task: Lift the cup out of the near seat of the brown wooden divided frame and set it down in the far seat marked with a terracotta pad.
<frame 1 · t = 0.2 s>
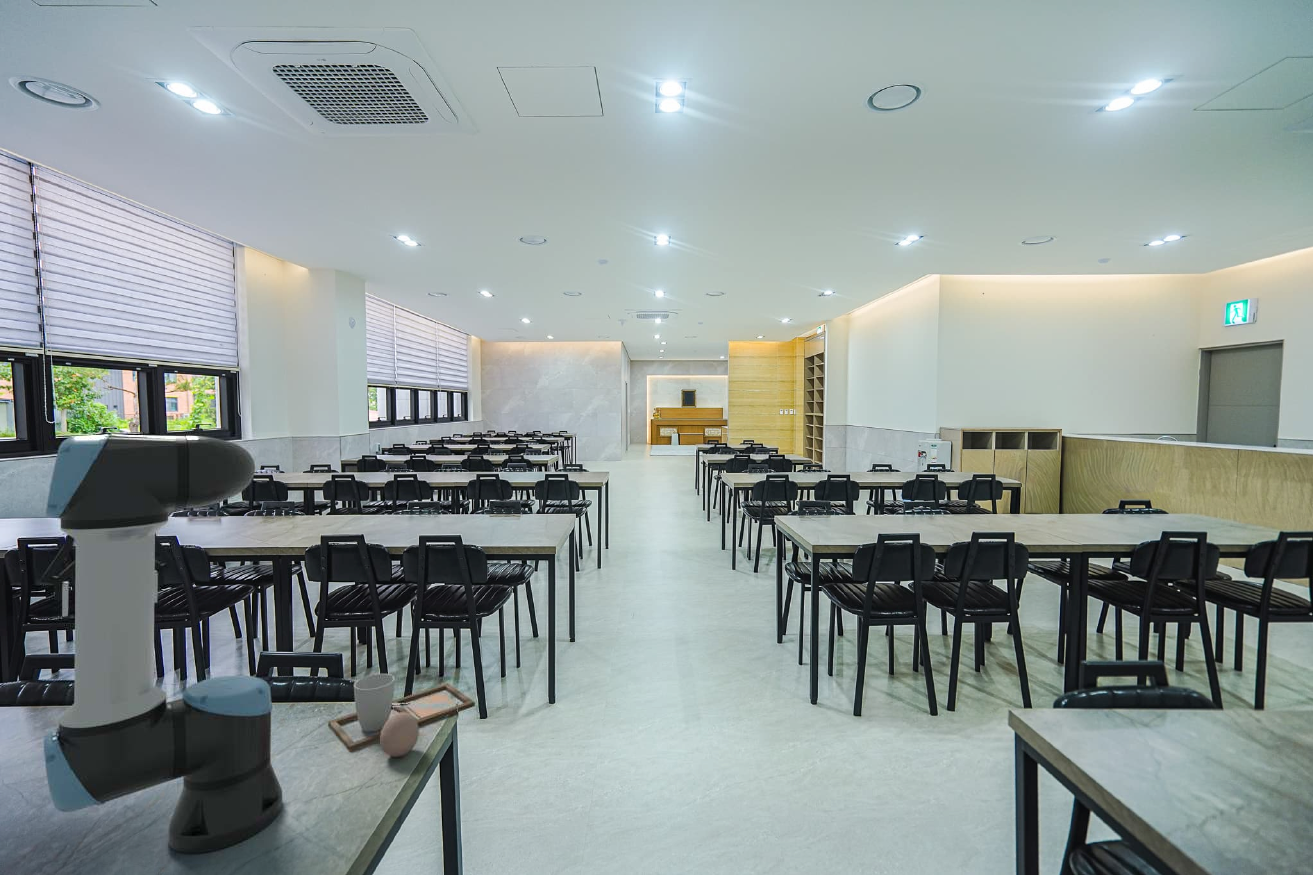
hand: (111, 608, 119), 28 cm above the table, fingers open, 13 cm apart
brown wooden divided frame: (404, 715, 130), on the table
egg: (399, 755, 114), on the table
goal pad: (432, 705, 134), resting in brown wooden divided frame
cup: (374, 726, 125), resting in brown wooden divided frame
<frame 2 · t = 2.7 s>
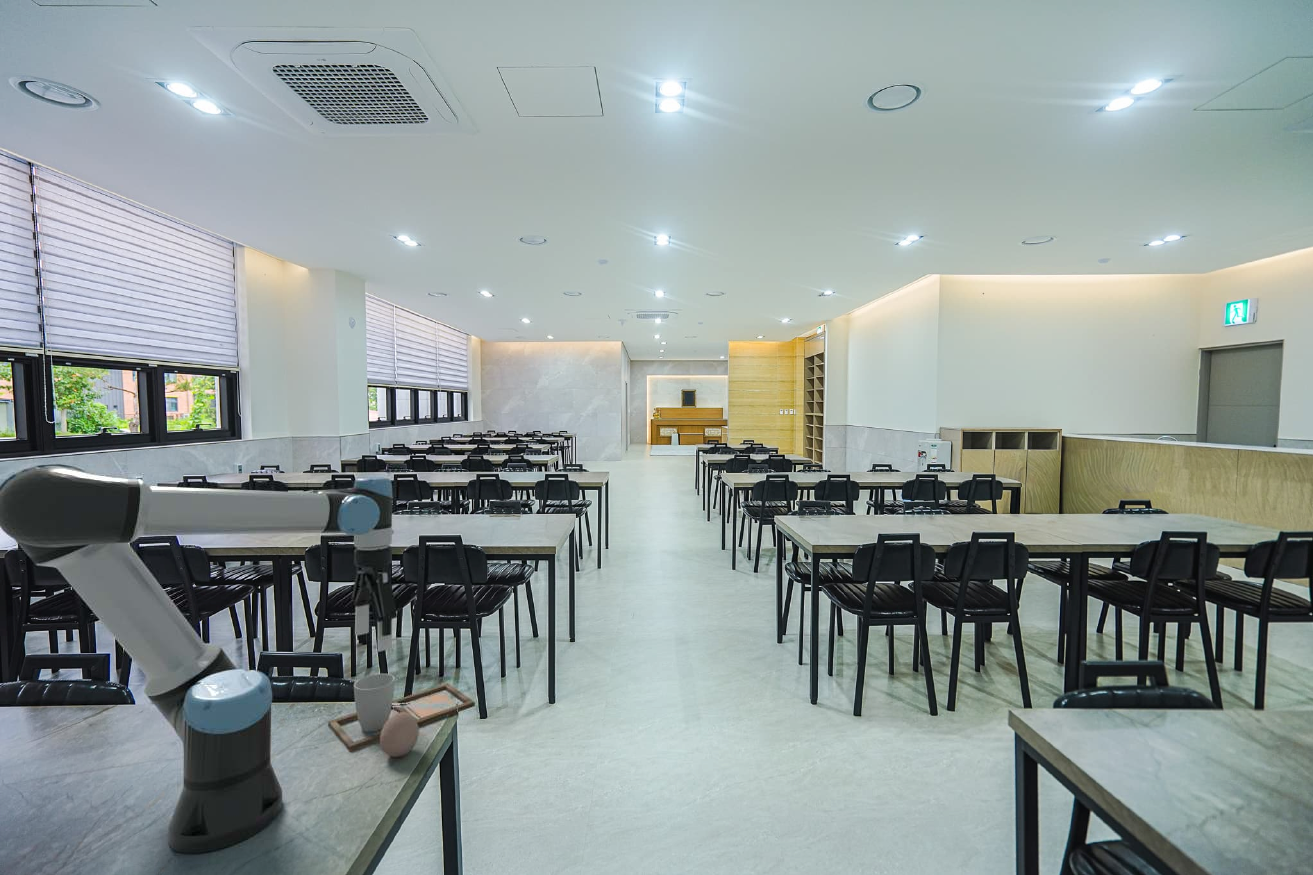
hand: (373, 641, 125), 19 cm above the table, fingers open, 13 cm apart
nothing on the table moved.
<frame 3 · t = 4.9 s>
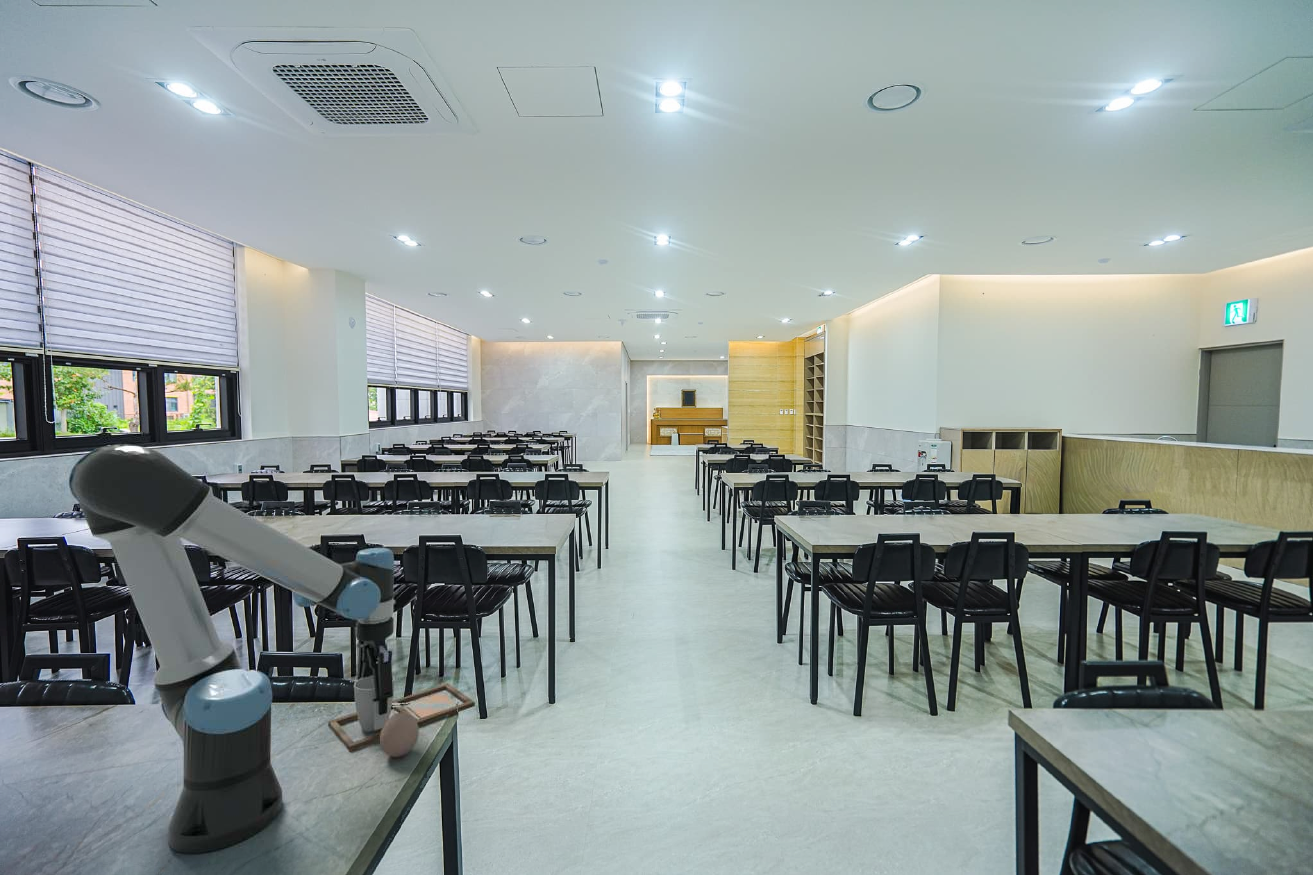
hand: (374, 720, 125), 1 cm above the table, fingers closed on cup, 8 cm apart
cup: (374, 726, 125), resting in brown wooden divided frame, touching gripper
everything else where it was.
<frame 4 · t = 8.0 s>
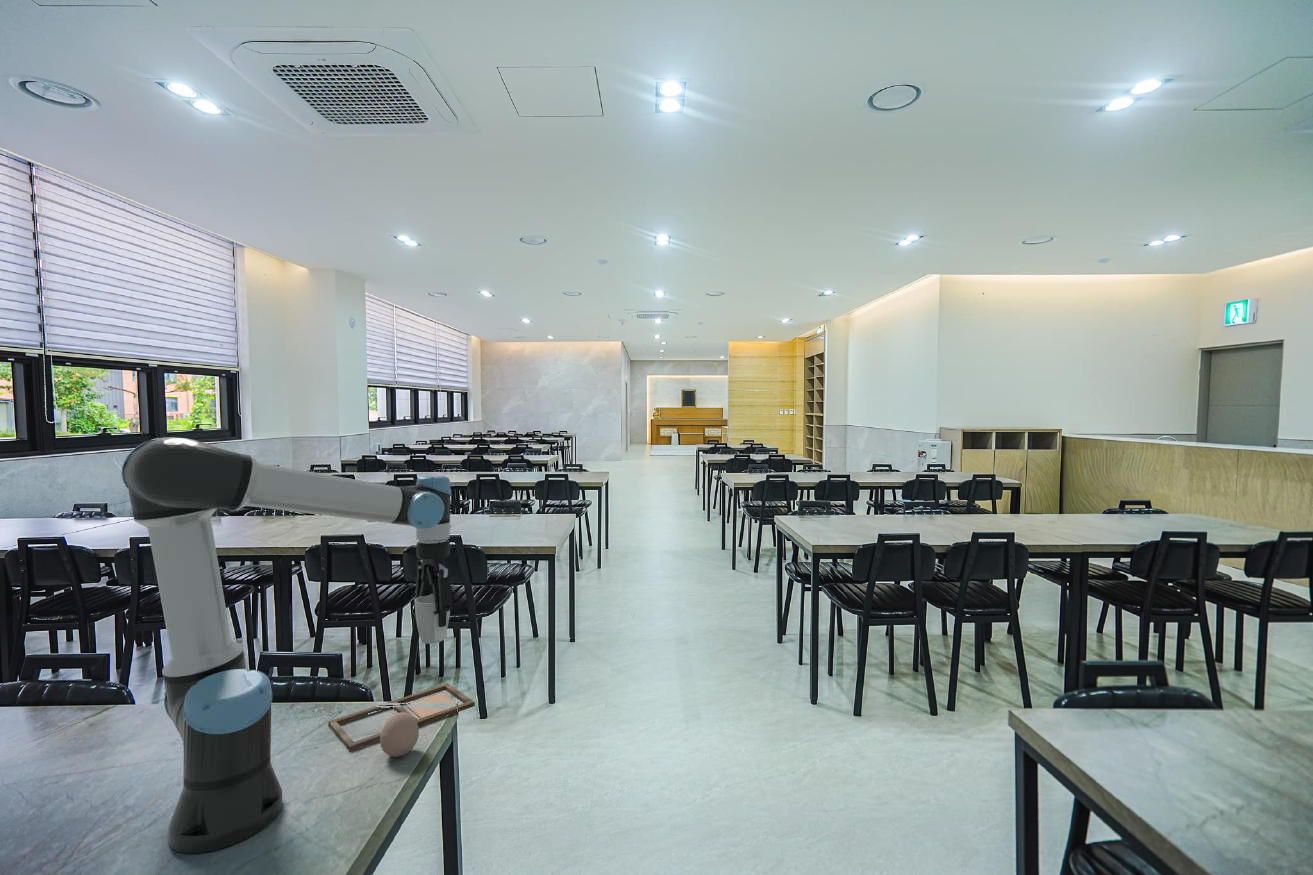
hand: (432, 634, 134), 17 cm above the table, fingers closed on cup, 8 cm apart
cup: (432, 640, 134), point 16 cm above the table, touching gripper
everything else where it was.
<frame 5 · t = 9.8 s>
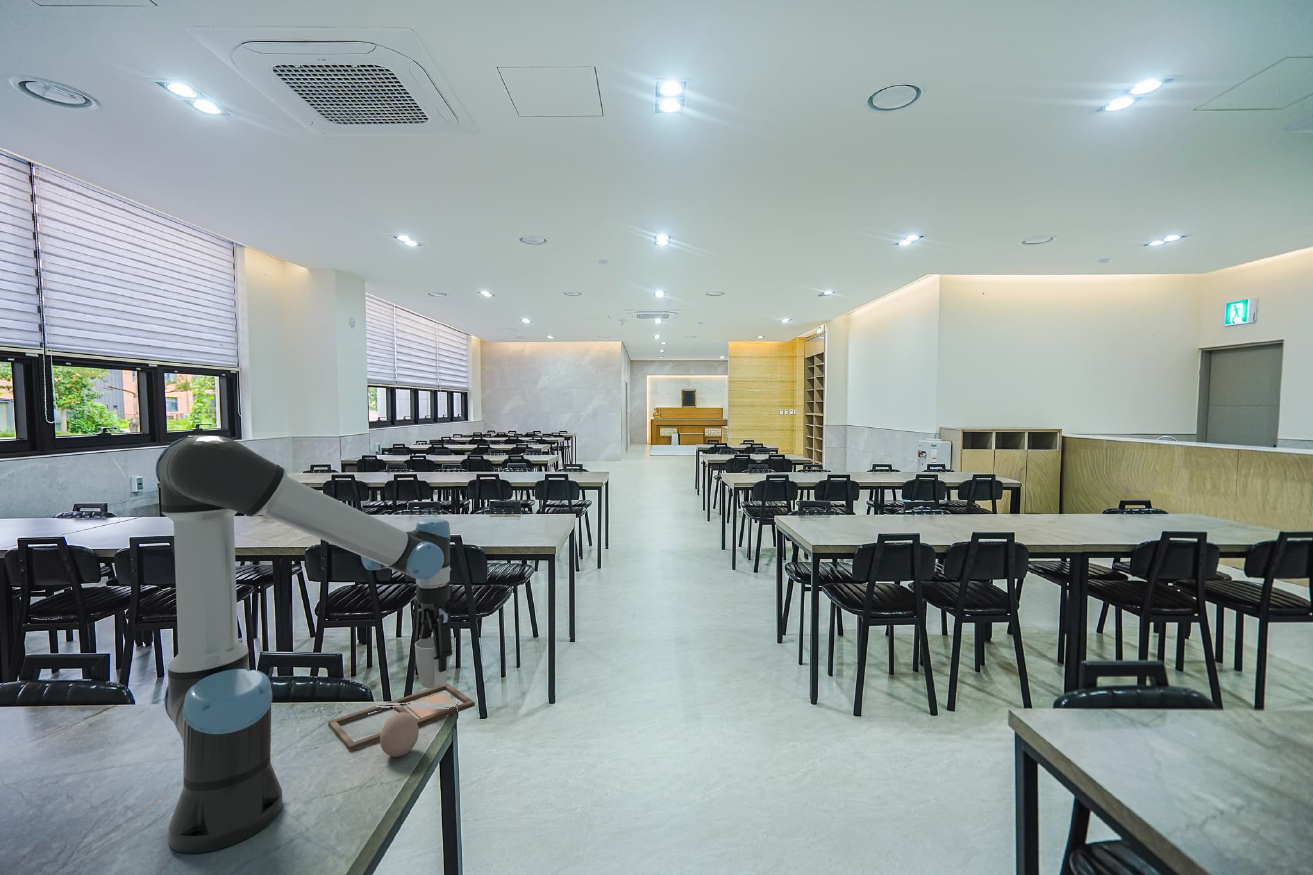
hand: (433, 678, 134), 7 cm above the table, fingers closed on cup, 8 cm apart
cup: (433, 684, 135), point 5 cm above the table, touching gripper
everything else where it was.
when the fingers open (3 cm above the table, at t = 11.1 s): cup drops 1 cm, resting on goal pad.
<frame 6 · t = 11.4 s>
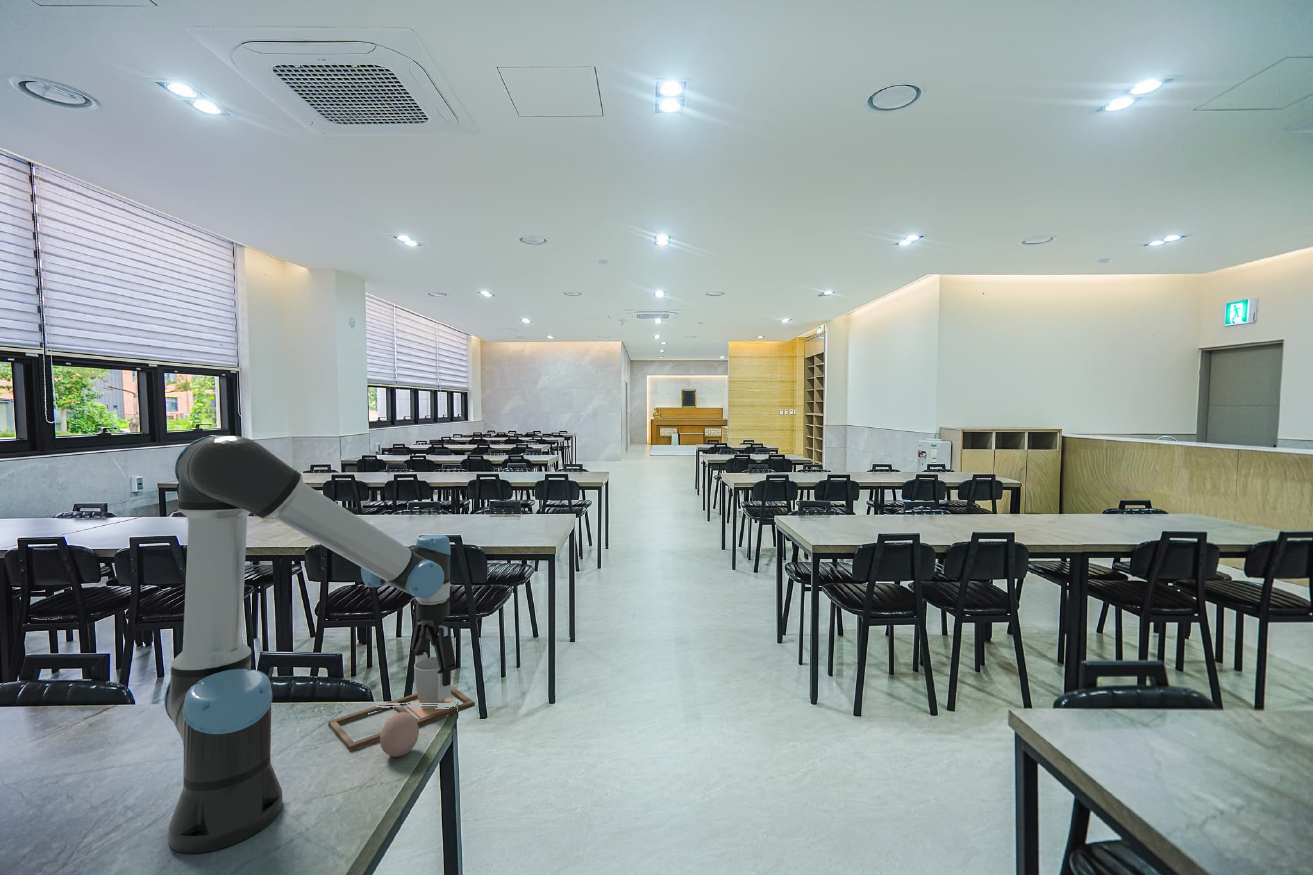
hand: (432, 689, 134), 4 cm above the table, fingers open, 12 cm apart
cup: (432, 705, 134), resting on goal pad
everything else where it was.
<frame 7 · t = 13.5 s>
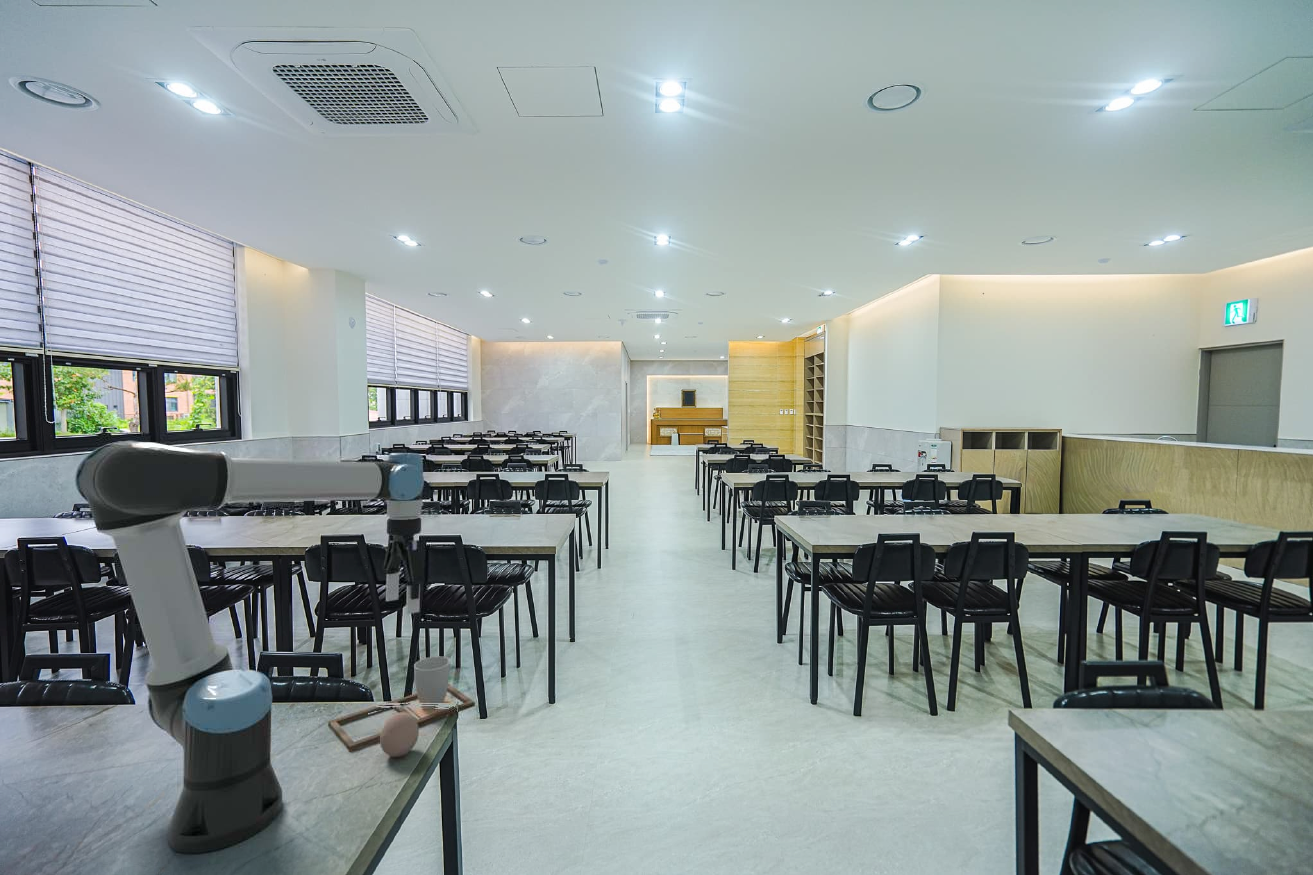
hand: (402, 606, 134), 24 cm above the table, fingers open, 13 cm apart
nothing on the table moved.
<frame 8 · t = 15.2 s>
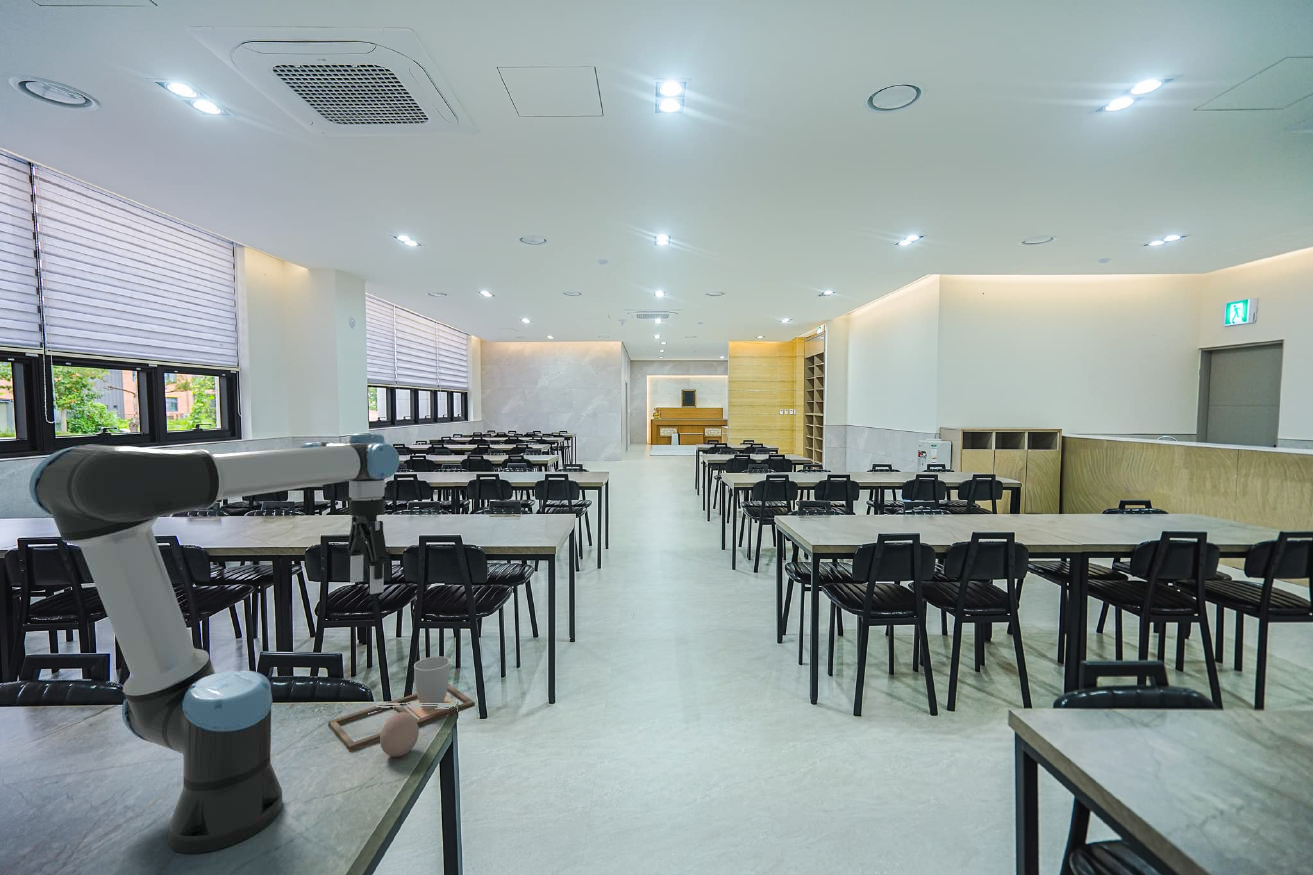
hand: (366, 587, 133), 29 cm above the table, fingers open, 13 cm apart
nothing on the table moved.
at the end: cup inside the target area on the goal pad (0.1 cm from its centre), point 0.1 cm above the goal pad's base; cup tilted 0°; the gripper is holding nothing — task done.
